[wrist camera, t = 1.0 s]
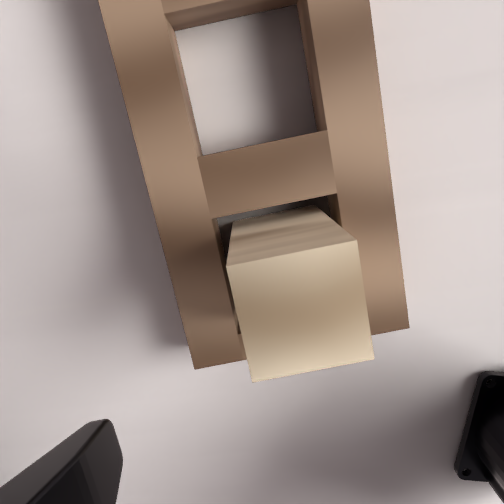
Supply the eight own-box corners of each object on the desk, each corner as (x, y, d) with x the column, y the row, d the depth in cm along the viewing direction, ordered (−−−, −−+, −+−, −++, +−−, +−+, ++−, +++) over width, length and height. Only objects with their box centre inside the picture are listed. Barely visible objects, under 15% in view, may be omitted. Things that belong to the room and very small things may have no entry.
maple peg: (327, 282, 21) (374, 359, 14) (249, 297, 22) (252, 382, 14) (314, 204, 21) (357, 240, 13) (232, 221, 21) (226, 266, 13)
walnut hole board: (391, 307, 22) (412, 330, 19) (200, 344, 22) (193, 372, 19) (313, -278, 16) (327, -365, 13) (57, -216, 16) (20, -288, 14)
